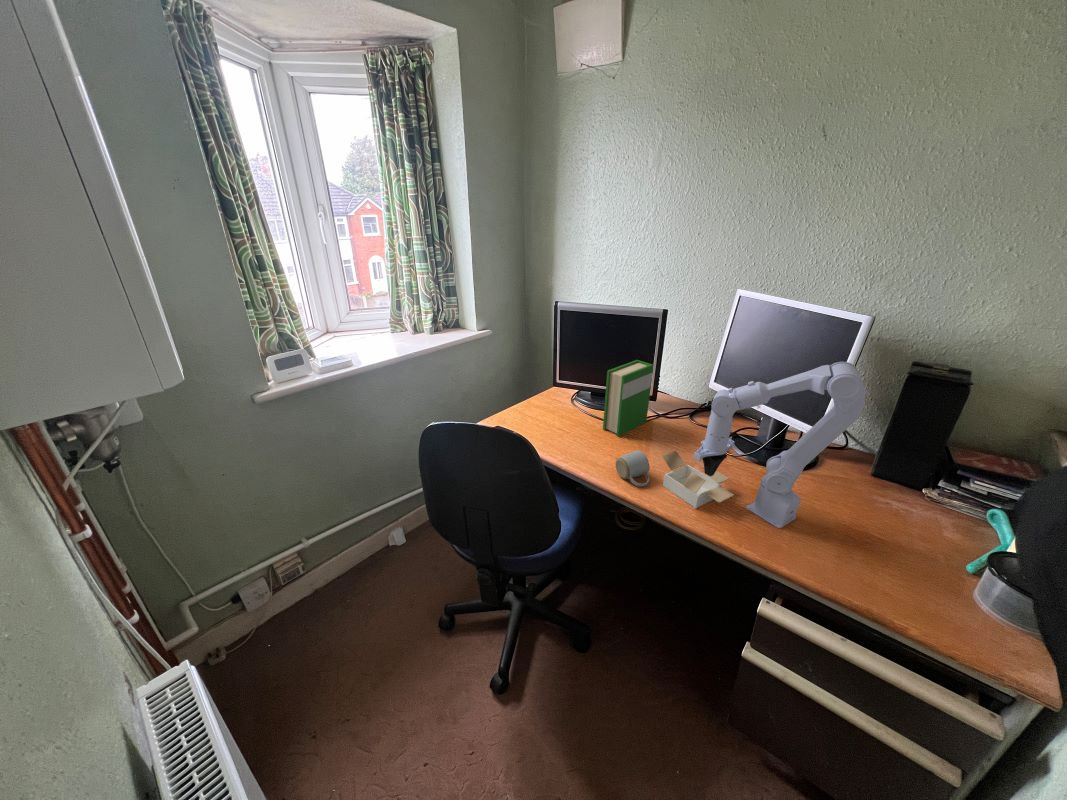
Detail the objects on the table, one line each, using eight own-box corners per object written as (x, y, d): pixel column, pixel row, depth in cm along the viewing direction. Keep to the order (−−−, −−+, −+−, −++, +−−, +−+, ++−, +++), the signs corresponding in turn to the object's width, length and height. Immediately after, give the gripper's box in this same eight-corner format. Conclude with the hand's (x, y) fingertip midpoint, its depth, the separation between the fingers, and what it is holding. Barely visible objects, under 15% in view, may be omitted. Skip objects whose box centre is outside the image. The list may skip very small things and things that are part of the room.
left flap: (705, 480, 111) (705, 480, 110) (695, 493, 111) (695, 493, 110) (692, 472, 114) (691, 471, 114) (682, 484, 114) (682, 484, 114)
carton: (743, 500, 115) (746, 488, 113) (709, 518, 108) (712, 505, 106) (695, 471, 128) (698, 460, 126) (662, 486, 121) (664, 474, 119)
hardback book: (618, 437, 148) (624, 376, 138) (602, 429, 153) (607, 370, 143) (646, 422, 158) (653, 364, 148) (630, 415, 163) (636, 359, 153)
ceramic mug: (612, 472, 128) (614, 451, 124) (633, 465, 131) (636, 445, 127) (633, 491, 119) (636, 470, 116) (655, 484, 122) (658, 463, 119)
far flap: (675, 450, 125) (675, 451, 126) (662, 455, 123) (661, 456, 123) (685, 464, 123) (685, 464, 123) (671, 469, 120) (671, 470, 121)
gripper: (722, 420, 116) (713, 460, 121) (687, 433, 109) (680, 474, 115) (744, 430, 110) (734, 472, 116) (709, 445, 103) (700, 487, 109)
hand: (708, 474), depth 115 cm, fingers closed
